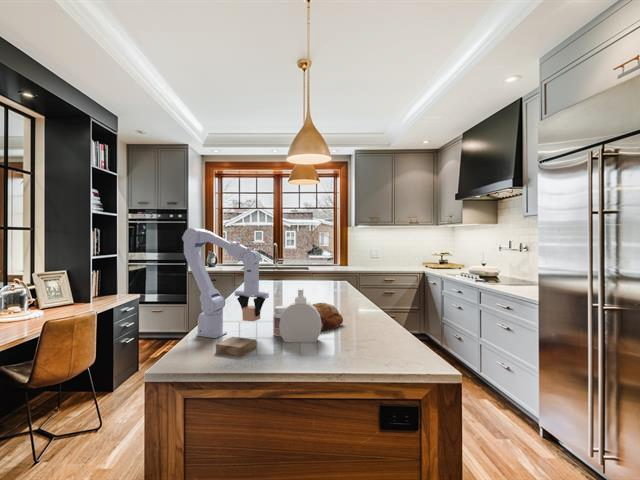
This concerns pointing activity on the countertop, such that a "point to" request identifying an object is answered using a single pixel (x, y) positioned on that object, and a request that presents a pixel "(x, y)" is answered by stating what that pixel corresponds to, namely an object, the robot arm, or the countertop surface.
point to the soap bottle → (300, 321)
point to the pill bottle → (278, 319)
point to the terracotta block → (249, 314)
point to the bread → (328, 316)
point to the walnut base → (236, 346)
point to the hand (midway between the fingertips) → (251, 315)
